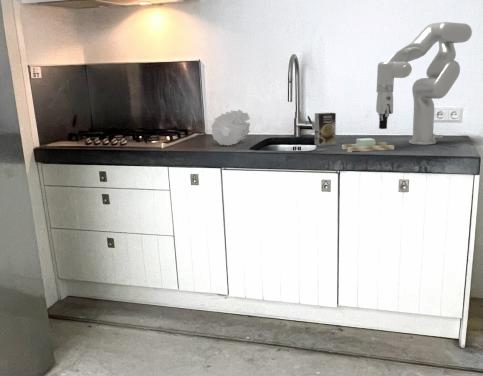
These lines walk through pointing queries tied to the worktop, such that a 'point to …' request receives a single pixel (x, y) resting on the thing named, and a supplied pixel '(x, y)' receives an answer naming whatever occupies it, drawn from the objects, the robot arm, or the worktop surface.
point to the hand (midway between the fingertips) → (382, 128)
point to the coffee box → (325, 128)
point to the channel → (368, 147)
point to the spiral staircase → (230, 127)
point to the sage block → (365, 142)
